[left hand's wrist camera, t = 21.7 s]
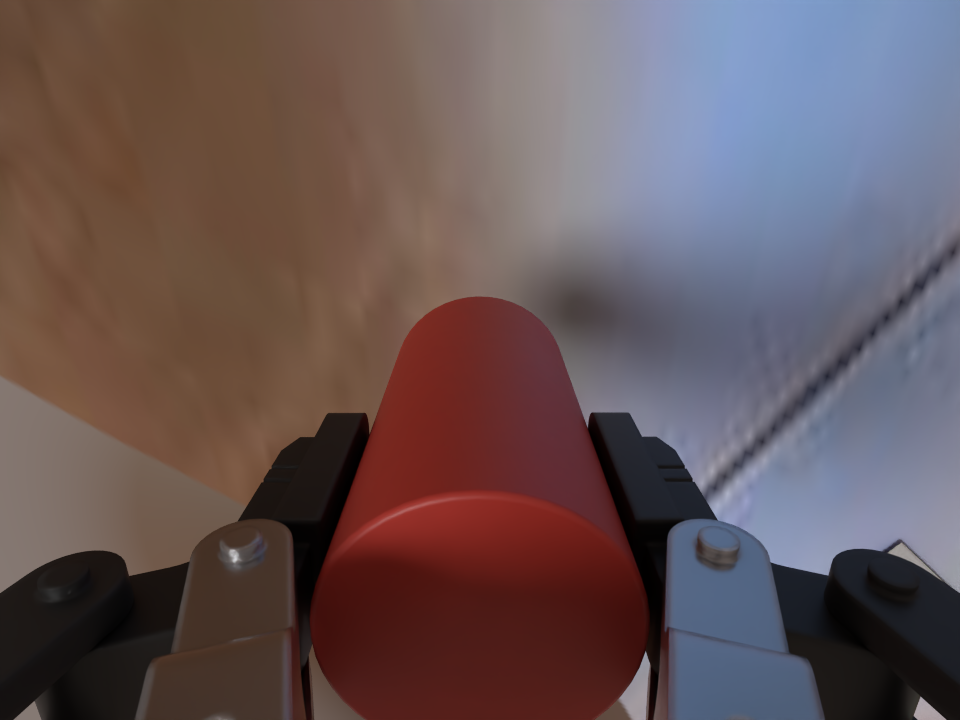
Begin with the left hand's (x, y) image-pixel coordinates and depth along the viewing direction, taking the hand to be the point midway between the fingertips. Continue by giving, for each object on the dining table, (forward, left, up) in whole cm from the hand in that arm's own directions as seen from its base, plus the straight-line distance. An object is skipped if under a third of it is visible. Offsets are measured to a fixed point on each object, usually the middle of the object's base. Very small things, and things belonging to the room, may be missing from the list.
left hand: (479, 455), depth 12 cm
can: (0, 0, -4) cm, 4 cm away
